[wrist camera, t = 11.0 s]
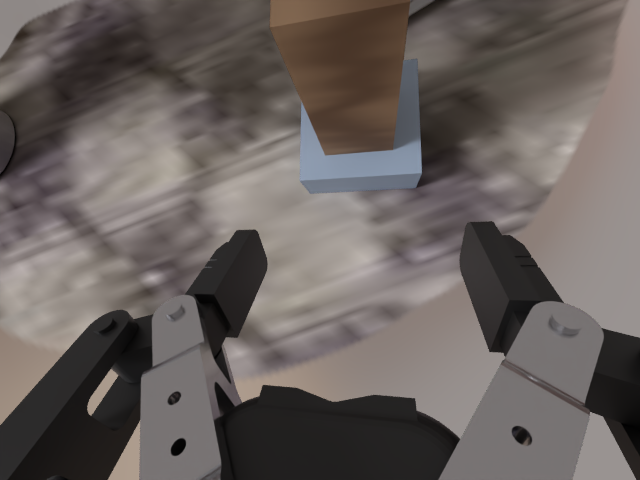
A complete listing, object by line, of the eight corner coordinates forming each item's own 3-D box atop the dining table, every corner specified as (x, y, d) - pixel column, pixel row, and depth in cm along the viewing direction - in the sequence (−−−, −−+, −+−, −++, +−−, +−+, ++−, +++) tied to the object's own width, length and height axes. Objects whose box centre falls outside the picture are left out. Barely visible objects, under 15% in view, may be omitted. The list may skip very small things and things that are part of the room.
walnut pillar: (325, 155, 19) (269, 27, 9) (325, 95, 20) (273, -85, 10) (392, 150, 18) (410, 1, 8) (391, 86, 19) (405, -121, 9)
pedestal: (310, 193, 22) (299, 180, 19) (311, 100, 23) (302, 75, 20) (415, 188, 20) (421, 173, 17) (412, 88, 21) (417, 58, 18)
